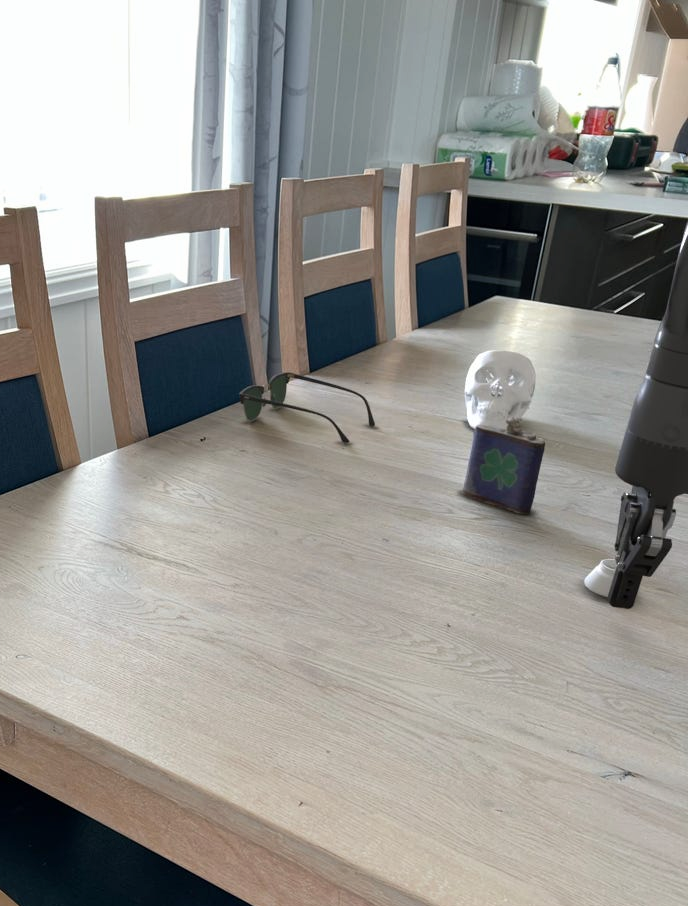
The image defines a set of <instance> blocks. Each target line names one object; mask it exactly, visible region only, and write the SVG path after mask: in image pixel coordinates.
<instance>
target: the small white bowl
mask: <svg viewBox="0 0 688 906" xmlns="http://www.w3.org/2000/svg"><path fill="white" fill-rule="evenodd" d="M617 566H618V564H616V560H615V558H605V559H602V560H601V561H600V563H599V564H597V565H596V566H595V567H594V568H593V570H592V571H590V573H589V574H588V575H587V576H586V577H585V578H584V581H583V582H584V586H585V587H586V588H587V589H588V590H589V591H591V592H593V593H594V594H597V595H598V596H600V597H603V598H604V597H605V598H607V599H608V594H609V590H610V587H611V583H612V580H613V577H614V573H615V570H616V567H617Z"/></svg>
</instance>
